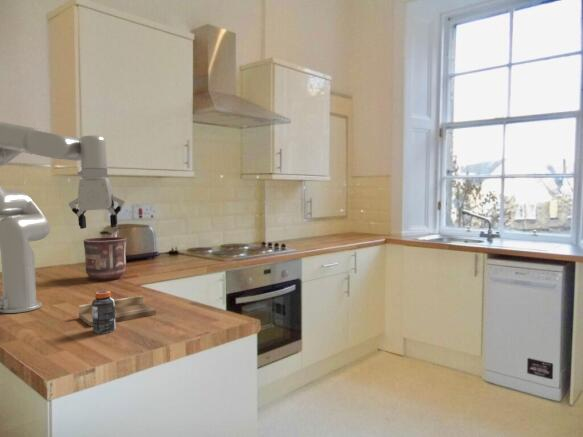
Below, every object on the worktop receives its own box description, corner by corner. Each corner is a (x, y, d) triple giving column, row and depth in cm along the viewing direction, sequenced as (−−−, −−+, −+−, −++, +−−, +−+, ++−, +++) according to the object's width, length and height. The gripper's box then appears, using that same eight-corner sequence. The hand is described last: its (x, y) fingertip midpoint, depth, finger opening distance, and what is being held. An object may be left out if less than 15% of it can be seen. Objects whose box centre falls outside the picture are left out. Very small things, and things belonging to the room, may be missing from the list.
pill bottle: (118, 327, 132) (117, 289, 131) (111, 333, 126) (109, 294, 125) (97, 327, 131) (96, 289, 131) (89, 334, 126) (88, 294, 125)
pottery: (118, 282, 194) (117, 241, 193) (77, 282, 194) (76, 241, 193) (132, 275, 211) (132, 236, 210) (95, 275, 211) (94, 236, 210)
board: (90, 327, 132) (90, 313, 132) (79, 318, 141) (78, 305, 141) (156, 314, 145) (155, 302, 144) (141, 307, 154) (141, 295, 154)
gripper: (62, 175, 141) (66, 229, 142) (118, 173, 141) (121, 227, 143) (72, 176, 148) (76, 227, 149) (125, 174, 149) (129, 225, 150)
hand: (98, 227), depth 146 cm, fingers open, 9 cm apart
